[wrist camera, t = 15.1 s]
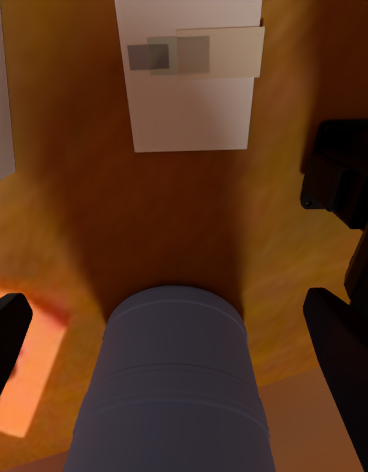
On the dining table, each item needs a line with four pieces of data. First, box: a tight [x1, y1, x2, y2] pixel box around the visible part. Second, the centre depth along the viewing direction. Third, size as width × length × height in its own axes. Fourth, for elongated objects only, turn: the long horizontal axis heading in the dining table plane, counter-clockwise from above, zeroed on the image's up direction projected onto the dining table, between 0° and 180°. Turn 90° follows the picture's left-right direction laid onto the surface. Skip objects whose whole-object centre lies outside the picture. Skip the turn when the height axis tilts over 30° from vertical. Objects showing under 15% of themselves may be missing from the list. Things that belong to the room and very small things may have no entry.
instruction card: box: [115, 0, 265, 152], centre depth 15 cm, size 8×11×1 cm
